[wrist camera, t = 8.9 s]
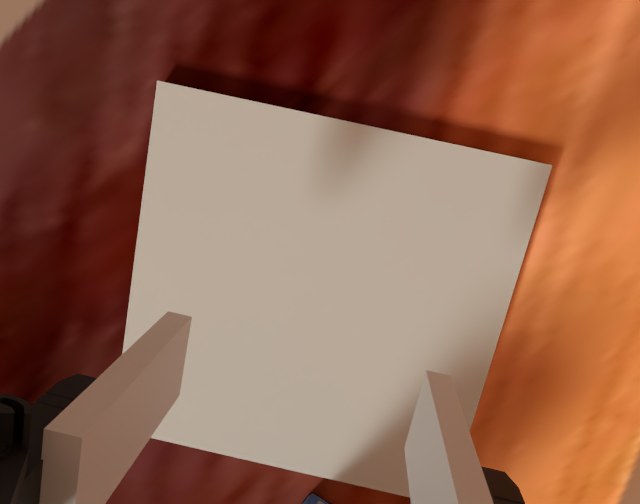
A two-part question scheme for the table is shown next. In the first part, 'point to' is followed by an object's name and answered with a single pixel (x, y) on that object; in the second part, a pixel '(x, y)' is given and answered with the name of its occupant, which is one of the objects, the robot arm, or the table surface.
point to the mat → (321, 278)
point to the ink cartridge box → (314, 500)
